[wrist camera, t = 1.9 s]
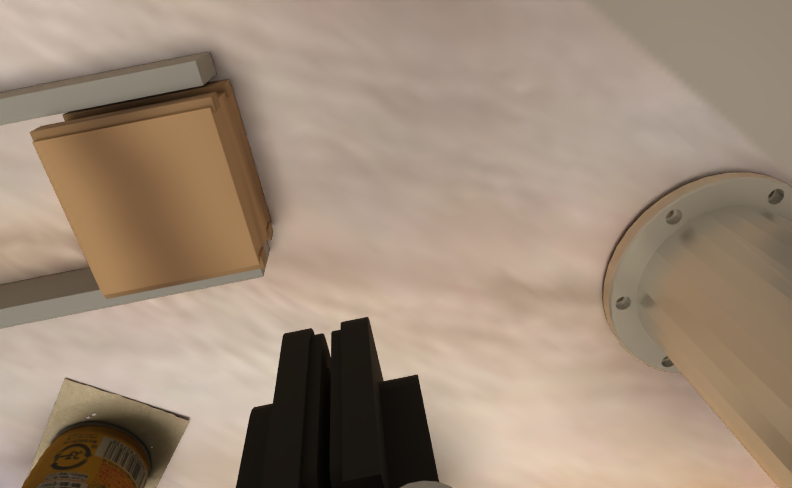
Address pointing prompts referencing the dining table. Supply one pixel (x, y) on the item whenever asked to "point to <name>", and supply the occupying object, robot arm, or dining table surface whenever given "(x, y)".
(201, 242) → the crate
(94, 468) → the condiment
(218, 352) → the dining table surface
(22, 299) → the frame
